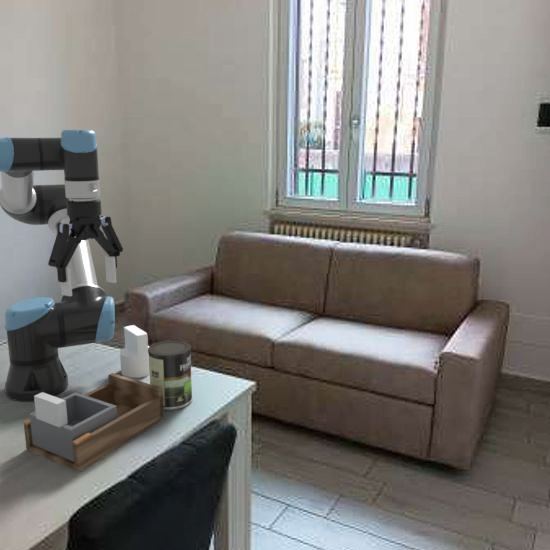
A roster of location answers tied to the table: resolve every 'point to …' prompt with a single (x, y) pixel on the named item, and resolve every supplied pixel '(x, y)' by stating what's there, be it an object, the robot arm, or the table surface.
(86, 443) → the bay
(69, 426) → the box
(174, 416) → the table surface
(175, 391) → the coffee can
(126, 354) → the base with upright slab
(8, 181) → the robot arm
